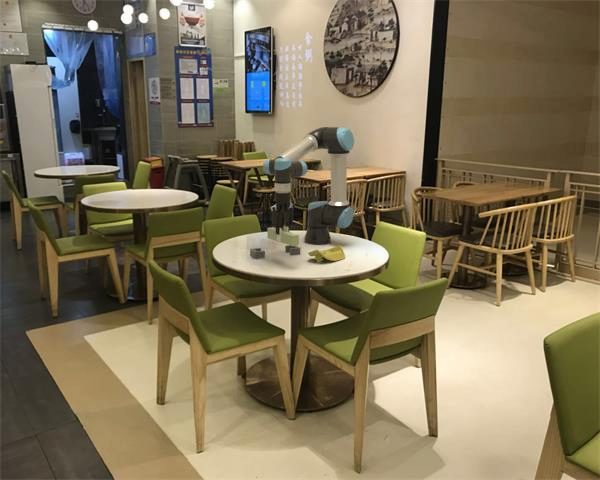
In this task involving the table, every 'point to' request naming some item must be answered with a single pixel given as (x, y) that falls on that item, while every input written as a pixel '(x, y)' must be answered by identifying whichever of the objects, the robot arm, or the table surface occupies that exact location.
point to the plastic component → (329, 254)
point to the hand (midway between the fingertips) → (282, 240)
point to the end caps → (257, 252)
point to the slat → (283, 236)
